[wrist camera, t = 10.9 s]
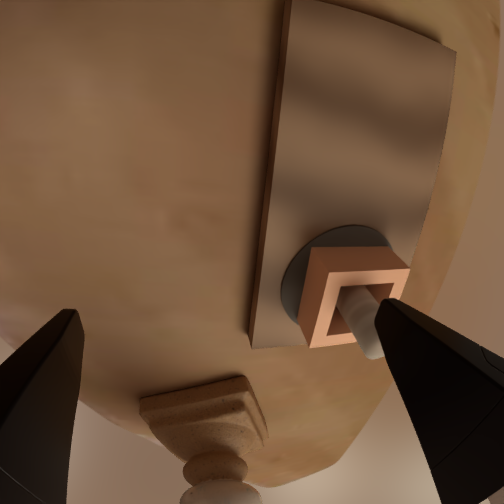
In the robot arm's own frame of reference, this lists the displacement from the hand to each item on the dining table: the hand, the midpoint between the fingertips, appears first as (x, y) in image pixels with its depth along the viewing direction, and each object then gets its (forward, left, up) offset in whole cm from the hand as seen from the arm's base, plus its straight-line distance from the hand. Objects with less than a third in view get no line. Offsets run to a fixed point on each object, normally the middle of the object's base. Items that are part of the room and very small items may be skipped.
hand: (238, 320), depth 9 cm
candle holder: (+12, +21, -12) cm, 27 cm away
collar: (-5, +10, -10) cm, 15 cm away
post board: (-8, +5, -12) cm, 15 cm away
